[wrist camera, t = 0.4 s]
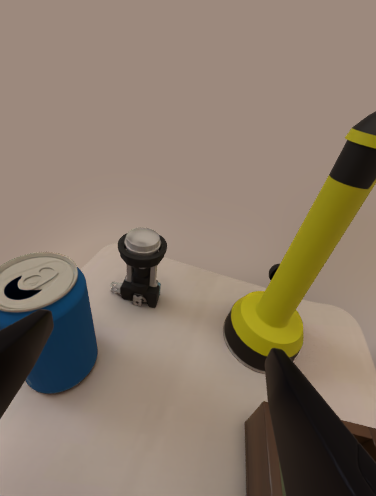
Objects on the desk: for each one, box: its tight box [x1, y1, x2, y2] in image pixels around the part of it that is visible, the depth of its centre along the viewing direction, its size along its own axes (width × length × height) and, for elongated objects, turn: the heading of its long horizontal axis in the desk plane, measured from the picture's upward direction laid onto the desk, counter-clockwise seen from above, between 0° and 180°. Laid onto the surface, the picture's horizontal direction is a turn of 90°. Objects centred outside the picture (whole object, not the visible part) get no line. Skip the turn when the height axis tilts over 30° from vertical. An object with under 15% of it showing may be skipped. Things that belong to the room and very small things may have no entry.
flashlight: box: [223, 112, 376, 374], centre depth 22 cm, size 25×9×9 cm
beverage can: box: [0, 252, 98, 394], centre depth 20 cm, size 6×6×12 cm
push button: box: [110, 228, 167, 308], centre depth 28 cm, size 7×5×10 cm
